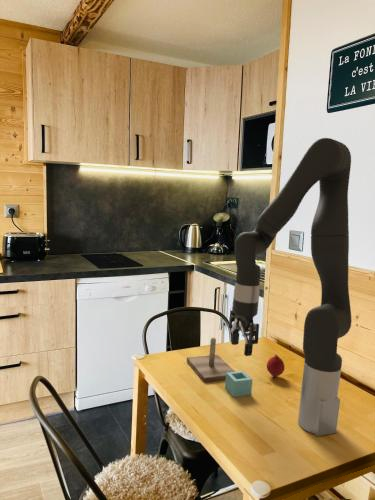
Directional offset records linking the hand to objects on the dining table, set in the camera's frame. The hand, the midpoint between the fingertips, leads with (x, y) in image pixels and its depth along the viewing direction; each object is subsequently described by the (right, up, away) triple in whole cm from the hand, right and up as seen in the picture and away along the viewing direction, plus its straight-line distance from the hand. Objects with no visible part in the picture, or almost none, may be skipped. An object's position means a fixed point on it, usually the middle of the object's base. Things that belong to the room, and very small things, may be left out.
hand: (241, 349), depth 123 cm
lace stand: (-8, -11, +16) cm, 21 cm away
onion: (+13, -13, +13) cm, 23 cm away
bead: (-1, -13, +2) cm, 13 cm away
